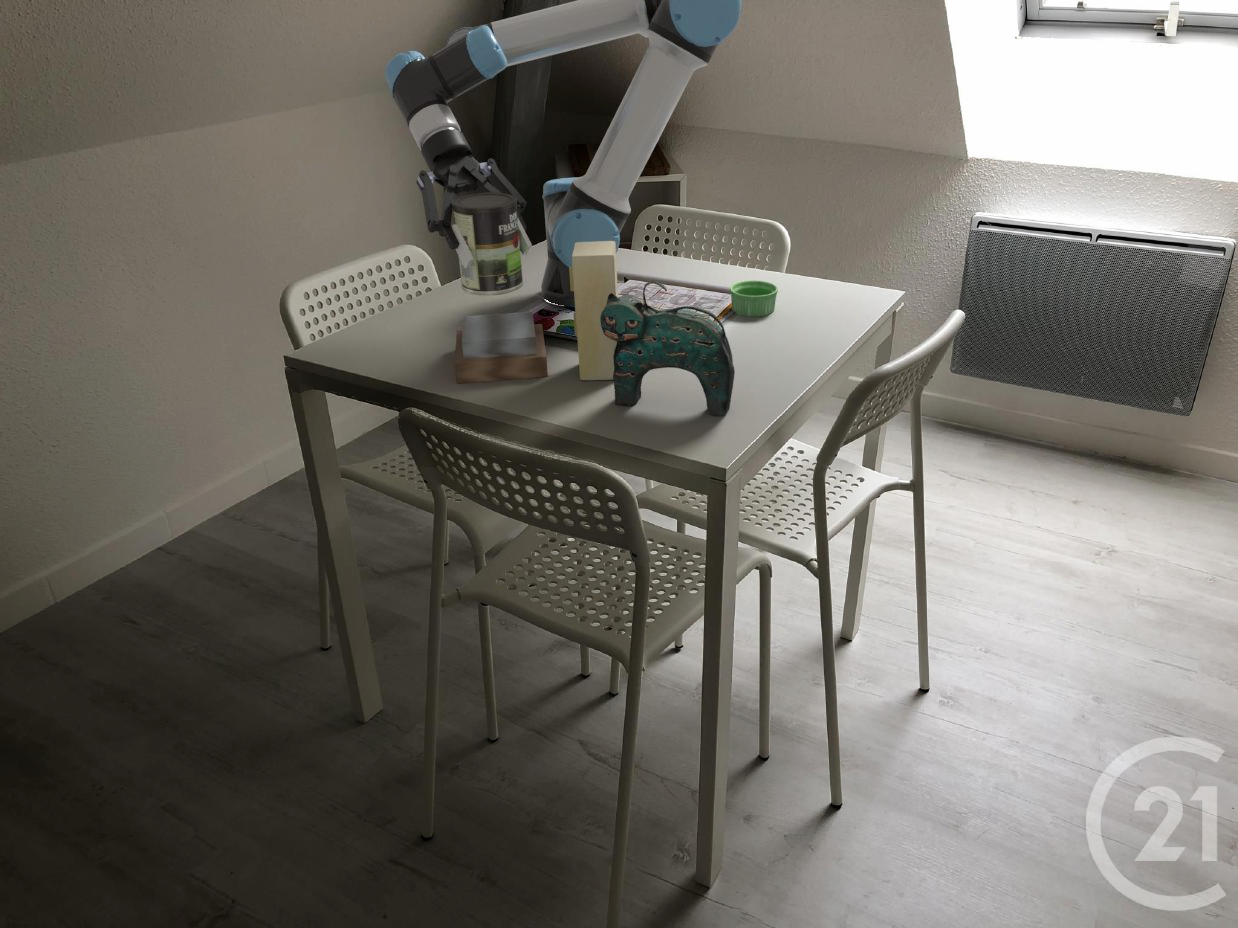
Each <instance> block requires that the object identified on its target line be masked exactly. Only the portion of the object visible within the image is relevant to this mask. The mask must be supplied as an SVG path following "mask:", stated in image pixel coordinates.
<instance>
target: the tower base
mask: <svg viewBox="0 0 1238 928" xmlns="http://www.w3.org/2000/svg"><path fill="white" fill-rule="evenodd" d="M462 317H463V318H462V329H459V330H456V336H455V337H456V338H455V351H454V372H455V378H456V383H457V384H466V383H478V382H481V383H482V382H492V381H504V380H506V381H507V380H515V379H517V380H518V379H529V378H541V377H543V378H544V377H548V376H549V374H548V361H547V360H548V359H547V351H546V344H545V339H544V329H543V324H542V323H537V324H535V323H534V313H533V311H520V312H509V313H508V312H507V313H506V312H505V313H494V314H493V313H492V314H491V313H490V314H479V315H470V316H469V315H466V316H462Z"/></svg>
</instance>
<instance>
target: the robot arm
mask: <svg viewBox="0 0 1238 928" xmlns="http://www.w3.org/2000/svg"><path fill="white" fill-rule="evenodd" d="M741 9H742V0H574V1H570V2H567V3H562V4H559V5H554V6H551V7H546V8H542V9H540V10H535V11H531V12H527V13H522V14H519V15H516V16H512V17H511V16H510V17H507V18H503V19H500V20H496V21H492V22H489V23H486V24H481V25H480V24H479V25H477V26H473V27H470V26H464V27H461V28H459V29H455V30H454V31H453V32H452V33H451V34H450V35H449V37H448V39H447V41H446V44H445V46H444V47H443V48H441V49H440V50H437V51H436V52H435V53H433V54H431V55H427V56H426V57H425V56H424V55H423V54H422V52H419V51H416V50H407V51H406V52H400V53H398V54H396V55H395V56H393V57H392V58H391V59H390V60H389V61H388V62H387V64H386V66H385V69H384V78H385V81H386V82H387V85H388V87H389V90H390V93H391V96H392V98H393V99H394V102H395V103H396V105H397V108H398V110H399V111H400V112H401V115H402V117H403V119H404V121H405V123H406V124H407V127H408V128H409V130H410V133H411V135H412V137H413V139H414V141H415V143H416V145H417V147H418V148H419V150H420V151H421V155H422V158H423V159H424V161H425V164H426V165H427V167H428V169H429V171H428V172H427V171H426V170H423V169H422V170H420V171H419V174H418V176H417V179H416V185H417V186H418V188H419V190H420V192H421V196H422V202H423V207H424V214H425V221H426V227H427V231H428V232H429V233H435V232H437V233H438V235H439V236H440V237H444V239H445V241H446V243H447V245H448V247H449V248H450V249H451V250H455V251H456V253H457V256H458V255H459V257H458V259H459V258H460V260H461V262H462V264H463V266H464V268H465V269H467V268H470V266H471V264H472V262H473V260H474V258H473V256H472V254H471V252H470V250H469V248H468V246H467V244H466V242H465V240H464V238H463V236H462V234H461V232H460V230H459V228H458V226H457V224H455V223H453V224H452V217H453V208H452V201H453V200H454V199H455V198H454V197H455V196H454V195H458V194H461V193H462V192H463V193H465V192H466V193H467V192H468V193H469V192H472V193H473V194H475V193H487V192H496V193H506V194H511V195H513V196H515V197H516V198H517V215H518V228H519V242H520V253H521V254H522V256H525V255H527V254H528V253H529V251H530V249H531V248H532V246H533V244H532V242H531V240H530V238H529V236H528V235H527V233H526V231H527V229H528V228H527V224H526V222H525V221H524V218H523V217H522V215H521V214H522V213H523V212H524V210H525V208H526V206H527V205H528V203H527V200H526V199H525V198H524V197H523V196H522V195H521V194H520V193H519V192H518V190H517V189H516V188H515V187H514V186H513V185H512V183H511V182H510V181H509V180H508V179H507V177H506V176H505V175H504V174H503V173H502V172H501V171H500V169H499V167H498V165H497V162H496V161H495V159H494V158H491V157H490V158H489V159H488V160H487V161H486V162H479V161H478V160H477V159H475V158H474V156H473V153H472V149H471V147H470V145H469V143H468V141H467V139H466V137H465V136H464V135H465V134H464V133H463V132H462V131H461V126H460V125H459V123H458V121H457V118H456V117H455V115H454V114H453V112H452V110H451V108H450V105H449V104H448V103H449V102H450V101H453V100H455V99H457V97H459V96H461V95H463V94H465V93H466V92H468V91H469V90H472V89H474V88H475V87H477V86H479V85H480V84H483V83H484V82H486V81H487V80H490V79H494V78H495V76H497V74H499V73H501V72H502V71H504V70H506V68H507V67H510V66H515V65H518V64H522V63H527V62H529V61H534V60H539V59H541V58H542V59H543V58H546V57H550V56H554V55H558V54H561V53H566V52H569V51H570V52H571V51H574V50H578V49H581V48H582V49H583V48H585V47H590V46H594V45H597V44H602V43H605V42H610V41H614V40H617V39H622V38H625V37H629V36H633V35H637V34H640V35H641V36H642V37H643V38H646V39H647V38H648V41H649V46H648V48H647V49H646V52H645V54H644V56H643V57H642V60H641V62H640V64H639V66H638V68H637V70H636V72H635V74H634V76H633V78H632V80H631V82H630V84H629V86H628V88H627V90H626V92H625V94H624V96H623V98H622V101H621V102H620V104H619V106H618V108H617V110H616V112H615V115H614V117H613V118H612V120H611V122H610V125H609V126H608V128H607V130H606V132H605V135H604V136H603V138H602V141H601V143H600V145H599V147H598V149H597V151H596V152H595V155H594V157H593V159H592V161H591V163H590V164H589V167H588V169H587V171H586V173H585V174H584V175H582V176H579V177H563V178H556V179H555V178H554V179H551V180H548V181H546V182H545V183H544V184H543V188H542V189H543V190H542V193H543V194H542V200H543V207H544V219H545V220H544V221H545V222H544V223H545V233H546V234H545V236H546V249H547V261H546V265H545V270H544V273H543V277H542V281H541V285H540V286H541V287H540V288H541V290H540V291H541V298H542V297H543V298H544V299H546V300H548V301H549V302H551V303H555V304H558V305H564V306H575V297H574V291H571V288H570V273H569V267H571V266H572V254H573V250H574V246H575V243H576V242H595V241H615V243H616V254H618V251H619V246H620V241H621V236H620V233H621V232H622V229H623V228H624V226H625V223H626V222H627V219H629V216H630V214H631V211H632V209H631V205H630V202H629V198H630V195H631V193H632V191H633V190H634V187H635V186H636V184H637V182H638V179H639V178H640V176H641V174H642V173H643V171H644V169H645V166H646V165H647V163H648V161H649V159H650V157H651V155H652V153H653V151H654V149H655V147H656V145H657V143H658V142H659V140H660V138H661V136H662V134H663V132H664V130H665V128H666V126H667V124H668V122H669V121H670V118H671V117H672V115H673V112H674V111H675V109H676V107H677V106H678V103H679V101H680V99H681V97H682V95H683V94H684V91H685V89H686V88H687V86H688V84H689V81H690V79H691V78H692V77H693V74H694V72H695V71H696V70H699V69H701V68H703V67H707V66H708V65H709V63H710V61H711V59H712V57H713V56H714V53H715V52H716V50H717V48H718V46H719V44H720V43H723V41H725V40H726V39H727V38H728V37H729V36H730V35H731V34H732V33H733V32H734V30H735V28H736V27H737V24H738V22H739V20H740V16H741ZM480 172H481V173H480ZM434 182H435V183H436V184H438V185H439V186H441V187H442V188H443V191H442V204H441V205H442V206H441V213H440V214H441V216H440V218H439V213H438V212H439V211H438V207H437V201H436V195H435V190H434Z"/></svg>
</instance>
